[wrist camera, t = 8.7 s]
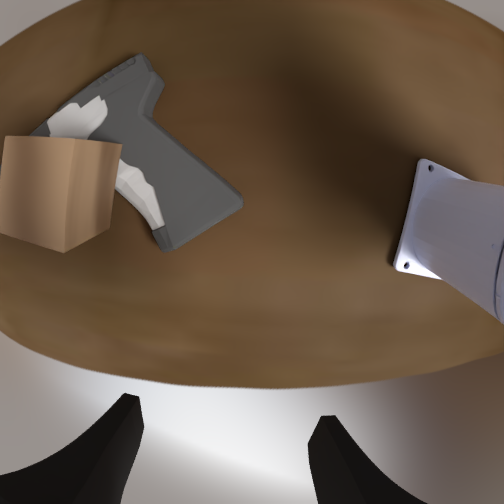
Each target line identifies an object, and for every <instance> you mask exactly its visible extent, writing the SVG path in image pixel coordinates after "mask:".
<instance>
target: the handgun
mask: <svg viewBox="0 0 504 504" xmlns="http://www.w3.org/2000/svg"><path fill="white" fill-rule="evenodd" d="M164 86H165V84H164V81H163V79H162V78H161V77H160V76H159V75H158V74H157V73H156V72H154V70H153V68H152V66H151V63H150V61H149V60H148V59H147V57H146V56H145V55H144V54H143V53H142V52H141V53H139V54H137V55H135V56H134V57H132V58H130V59H128V60H127V61H125V62H123V63H122V64H120V65H118V66H117V67H115V68H114V69H112V70H110V71H109V72H107V73H106V74H104V75H103V76H101V77H100V78H98V79H97V80H95V81H94V82H93V83H91V84H90V85H88V86H87V87H86V88H84V89H83V90H81V91H80V92H79V93H77V94H76V95H75V96H73V97H72V98H71V99H70V100H68V101H67V102H66V103H64V104H63V105H62V106H61V107H60V108H58V110H57V112H56V113H55V114H54V115H53V116H51V117H50V118H48V119H47V120H45V121H44V122H43V123H42V124H41V125H40V126H39V127H38V128H37V129H35V130H34V131H33V132H32V133H31V134H30V135H29V136H37V137H57V138H72V139H83V140H93V141H101V142H110V143H117V144H123V145H122V150H121V155H120V160H119V166H118V171H117V177H116V184H115V189H116V190H117V191H118V192H119V193H120V194H121V195H122V196H124V197H125V198H126V199H127V200H128V201H129V202H130V203H131V204H132V205H133V206H134V207H135V208H136V209H137V210H138V211H139V212H140V213H141V214H142V215H143V216H144V217H145V218H146V220H147V222H148V223H149V225H150V227H151V228H152V230H153V231H152V234H153V236H154V238H155V240H156V242H157V244H158V246H159V248H160V250H161V251H162V252H169V251H172V250H175V249H177V248H179V247H180V246H182V245H183V244H185V243H187V242H188V241H190V240H191V239H193V238H194V237H196V236H197V235H199V234H201V233H202V232H204V231H205V230H207V229H209V228H210V227H212V226H213V225H215V224H216V223H218V222H220V221H221V220H223V219H225V218H226V217H228V216H229V215H231V214H233V213H234V212H236V211H237V210H239V209H241V208H242V207H243V203H244V202H243V197H242V195H241V194H240V193H239V192H238V191H237V190H236V189H235V188H234V187H233V186H231V185H230V184H229V183H228V182H227V181H226V180H225V179H223V178H222V177H221V176H220V175H219V174H218V173H216V172H215V171H214V170H213V169H212V168H210V167H209V166H208V165H207V164H205V163H204V162H203V161H202V160H201V159H199V158H198V157H197V156H196V155H194V154H193V153H192V152H191V151H189V150H188V149H187V148H186V147H185V146H184V145H182V144H181V143H180V142H179V141H178V140H177V139H175V138H174V137H173V136H172V135H171V134H169V133H168V132H167V131H166V130H165V129H163V128H162V127H161V126H160V125H159V124H157V122H156V121H155V120H154V119H153V109H154V107H155V104H156V102H157V100H158V98H159V96H160V94H161V92H162V90H163V88H164ZM1 165H2V164H1ZM1 165H0V175H1Z"/></svg>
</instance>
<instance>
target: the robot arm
mask: <svg viewBox="0 0 504 504" xmlns="http://www.w3.org/2000/svg"><path fill="white" fill-rule="evenodd" d="M429 165H430V167H431V170H430V171H429V170H428V166H429ZM406 262H407V265H406V267H404V264H405V263H406ZM393 266H394V268H395V269H396V270H398V271H401V272H406V273H411V274H416V275H421V276H427V277H432V278H437V279H442V280H444V281H445V282H447V283H448V284H450V285H451V286H453V287H454V288H455V289H457V290H458V291H460V292H461V293H463V294H464V295H465V296H467V297H468V298H470V299H471V300H472V301H474V302H475V303H476V304H478V305H479V306H480V307H482V308H483V309H485V310H486V311H487V312H489V313H490V314H491V315H492V316H494V317H495V318H496V319H498V320H499V321H500V322H502V323H503V324H504V186H500V185H495V184H489V183H483V182H477V181H471V180H469V179H467V178H465V177H463V176H461V175H459V174H457V173H455V172H453V171H451V170H449V169H447V168H445V167H443V166H441V165H439V164H436V163H434V162H432V161H430V160H427V159H420V160H419V161H418V164H417V169H416V175H415V180H414V185H413V190H412V194H411V199H410V203H409V207H408V211H407V216H406V220H405V223H404V227H403V231H402V235H401V238H400V242H399V245H398V249H397V252H396V256H395V259H394V262H393ZM143 430H144V423H143V417H142V411H141V405H140V399H139V396H135V395H130V394H127V393H124V394H123V395H122V396H121V397H120V398H119V399H118V400H117V401H116V402H115V403H114V404H113V405H112V407H111V408H110V409H109V410H108V411H107V412H106V413H105V414H104V415H103V416H102V417H101V418H100V419H98V420H97V421H96V422H95V423H94V424H93V425H92V426H91V427H90V428H89V429H87V430H86V431H85V432H84V433H83V434H82V435H80V436H79V437H78V438H77V439H75V440H74V441H73V442H71V443H70V444H69V445H67V446H66V447H64V448H63V449H61V450H60V451H58V452H56V453H55V454H53V455H51V456H49V457H48V458H46V459H44V460H42V461H40V462H38V463H35V464H33V465H31V466H28V467H26V468H23V469H21V470H18V471H15V472H11V473H8V474H4V475H0V504H120V503H121V498H122V494H123V491H124V487H125V484H126V481H127V479H128V476H129V474H130V471H131V468H132V466H133V463H134V460H135V457H136V455H137V452H138V449H139V447H140V442H141V438H142V434H143ZM308 455H309V465H310V469H311V474H312V479H313V483H314V487H315V492H316V496H317V501H318V504H427V503H425V502H423V501H421V500H419V499H418V498H416V497H414V496H413V495H411V494H410V493H408V492H407V491H405V490H404V489H402V488H401V487H399V486H398V485H397V484H395V483H394V482H393V481H392V480H390V479H389V478H388V477H387V476H386V475H385V474H384V473H383V472H382V471H380V469H379V468H378V467H377V466H376V465H375V464H374V463H373V462H372V461H371V460H370V459H369V458H368V457H367V455H366V454H365V453H364V452H363V451H362V450H361V448H360V447H359V446H358V445H357V443H356V442H355V441H354V440H353V439H352V437H351V436H350V435H349V433H348V432H347V430H346V429H345V428H344V426H343V425H342V424H341V423H340V421H339V420H338V418H337V417H336V416H335V415H332V416H321V417H320V419H319V422H318V424H317V426H316V428H315V430H314V432H313V434H312V436H311V438H310V440H309V442H308Z"/></svg>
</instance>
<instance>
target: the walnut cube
mask: <svg viewBox="0 0 504 504" xmlns="http://www.w3.org/2000/svg"><path fill="white" fill-rule="evenodd" d="M122 145H123V144H117V143H110V142H101V141H93V140H83V139H72V138H57V137H37V136H5V142H4V149H3V157H2V165H1V175H0V233H2V234H5V235H8V236H11V237H14V238H17V239H20V240H23V241H26V242H29V243H33V244H36V245H39V246H42V247H46V248H49V249H52V250H55V251H59V252H62V253H65V252H67V251H69V250H71V249H73V248H74V247H76V246H78V245H80V244H82V243H83V242H85V241H87V240H89V239H91V238H93V237H95V236H96V235H98V234H100V233H102V232H104V231H106V230H108V229H110V223H111V214H112V206H113V198H114V191H115V184H116V177H117V171H118V166H119V160H120V155H121V150H122Z"/></svg>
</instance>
